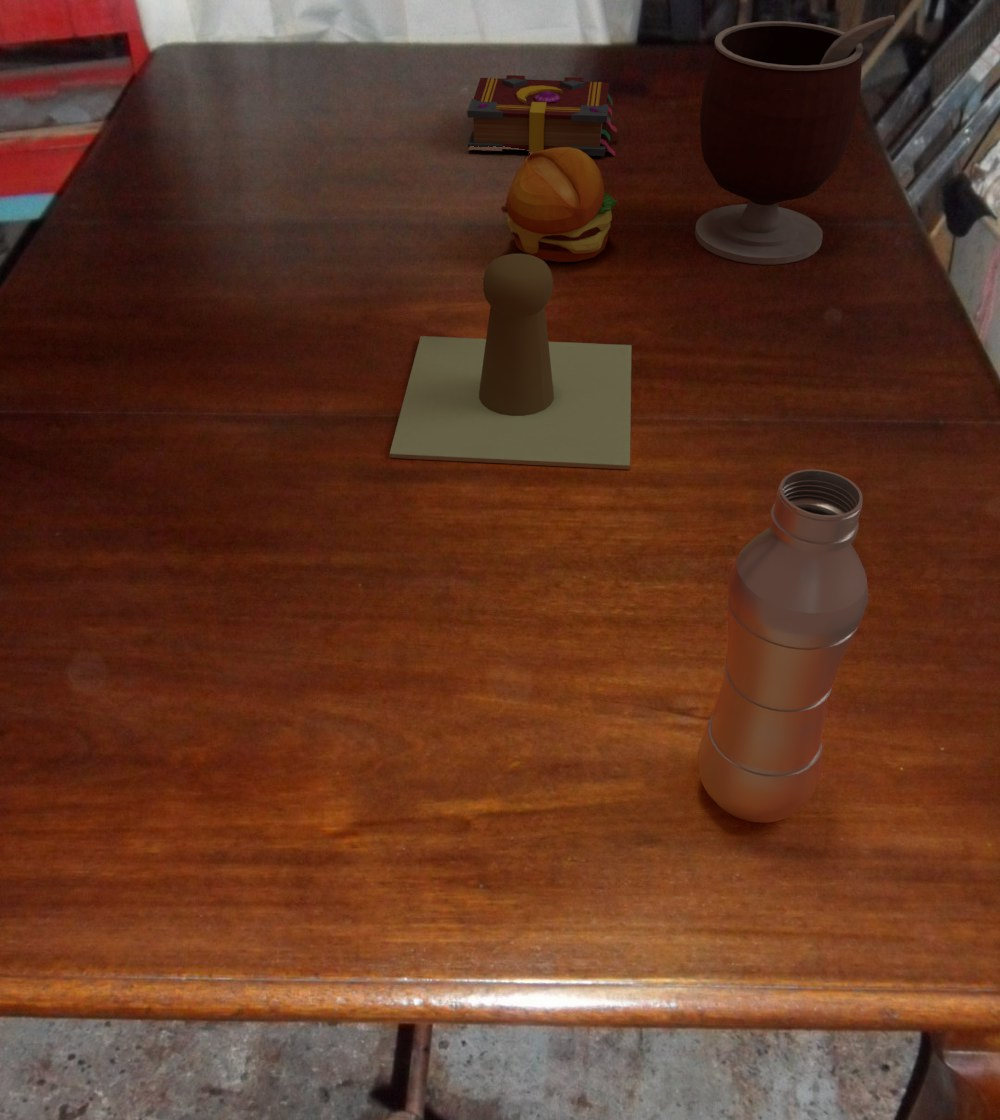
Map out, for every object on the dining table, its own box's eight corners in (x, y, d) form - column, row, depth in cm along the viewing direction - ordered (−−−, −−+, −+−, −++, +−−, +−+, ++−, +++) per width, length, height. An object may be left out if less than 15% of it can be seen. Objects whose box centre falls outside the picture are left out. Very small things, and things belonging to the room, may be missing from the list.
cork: (465, 387, 96) (463, 253, 88) (531, 369, 98) (534, 237, 90) (500, 423, 92) (500, 287, 84) (568, 404, 94) (574, 269, 86)
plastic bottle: (752, 858, 63) (827, 558, 49) (667, 780, 67) (713, 481, 52) (837, 803, 66) (931, 504, 51) (750, 731, 69) (816, 434, 55)
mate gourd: (673, 257, 113) (699, 22, 99) (700, 200, 122) (727, -23, 108) (839, 279, 110) (890, 39, 95) (853, 218, 119) (902, -8, 105)
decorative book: (479, 116, 138) (479, 70, 135) (618, 122, 137) (621, 75, 134) (468, 154, 131) (467, 105, 127) (614, 160, 129) (618, 111, 126)
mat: (389, 458, 89) (389, 453, 89) (420, 340, 102) (420, 335, 101) (629, 469, 88) (630, 465, 88) (631, 349, 101) (631, 344, 100)
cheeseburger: (630, 230, 117) (631, 135, 108) (590, 300, 112) (587, 207, 103) (536, 210, 119) (529, 116, 111) (492, 278, 115) (482, 185, 106)
